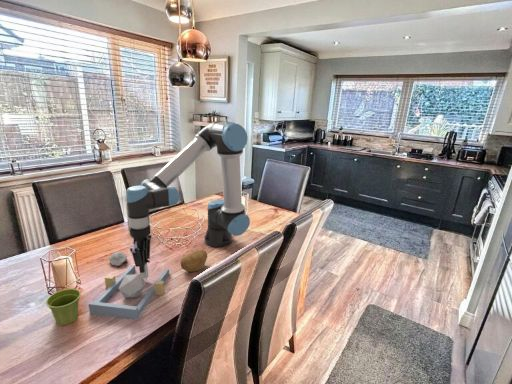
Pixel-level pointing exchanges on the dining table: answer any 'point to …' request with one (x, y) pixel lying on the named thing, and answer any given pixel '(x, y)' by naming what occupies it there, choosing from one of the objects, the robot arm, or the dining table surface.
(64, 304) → the plant pot
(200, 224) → the dining table surface
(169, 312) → the dining table surface
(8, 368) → the dining table surface
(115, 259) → the grey stone
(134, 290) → the faceted grey rock
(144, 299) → the beam track
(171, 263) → the dining table surface
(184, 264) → the potato
